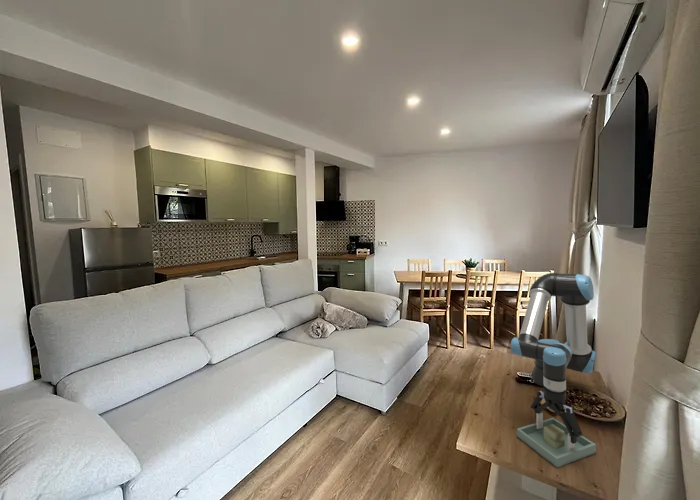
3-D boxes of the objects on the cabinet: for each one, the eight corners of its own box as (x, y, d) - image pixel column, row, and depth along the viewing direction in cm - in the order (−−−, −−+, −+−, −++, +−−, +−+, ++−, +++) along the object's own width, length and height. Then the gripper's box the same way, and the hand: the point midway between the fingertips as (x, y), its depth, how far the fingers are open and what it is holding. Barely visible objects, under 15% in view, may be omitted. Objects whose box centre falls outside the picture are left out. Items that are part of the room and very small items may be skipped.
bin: (552, 425, 136) (552, 417, 136) (596, 453, 119) (596, 444, 119) (516, 436, 130) (516, 428, 130) (556, 467, 113) (556, 458, 113)
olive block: (552, 437, 128) (552, 424, 127) (564, 445, 123) (564, 431, 122) (543, 441, 126) (543, 427, 126) (555, 449, 121) (555, 434, 121)
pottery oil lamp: (545, 415, 142) (537, 399, 145) (540, 409, 153) (533, 394, 156) (565, 410, 140) (557, 394, 143) (559, 405, 151) (551, 390, 154)
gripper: (521, 375, 134) (521, 422, 135) (579, 406, 110) (578, 462, 112) (534, 372, 136) (535, 417, 138) (594, 402, 112) (593, 457, 114)
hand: (554, 438), depth 125 cm, fingers open, 13 cm apart
